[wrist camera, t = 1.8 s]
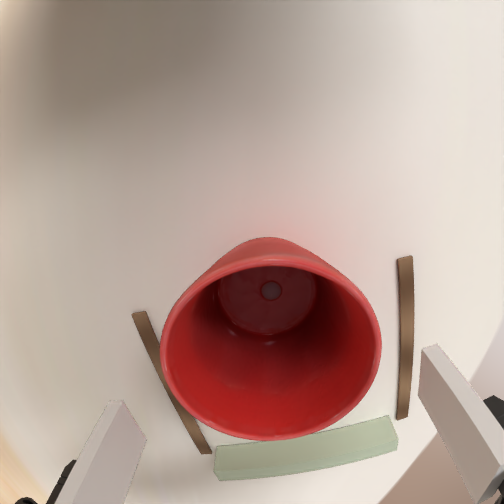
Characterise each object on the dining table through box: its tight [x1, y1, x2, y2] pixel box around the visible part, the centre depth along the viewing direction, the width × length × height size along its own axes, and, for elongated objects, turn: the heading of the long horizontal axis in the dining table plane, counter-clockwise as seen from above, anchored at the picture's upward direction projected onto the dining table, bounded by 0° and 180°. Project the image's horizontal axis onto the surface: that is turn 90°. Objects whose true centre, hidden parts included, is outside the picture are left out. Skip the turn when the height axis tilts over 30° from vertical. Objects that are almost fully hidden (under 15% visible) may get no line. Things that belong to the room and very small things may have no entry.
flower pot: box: [160, 237, 382, 441], centre depth 18 cm, size 11×11×10 cm
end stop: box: [214, 415, 398, 481], centre depth 26 cm, size 2×18×4 cm, turn 103°
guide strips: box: [132, 256, 414, 454], centre depth 25 cm, size 18×22×1 cm
